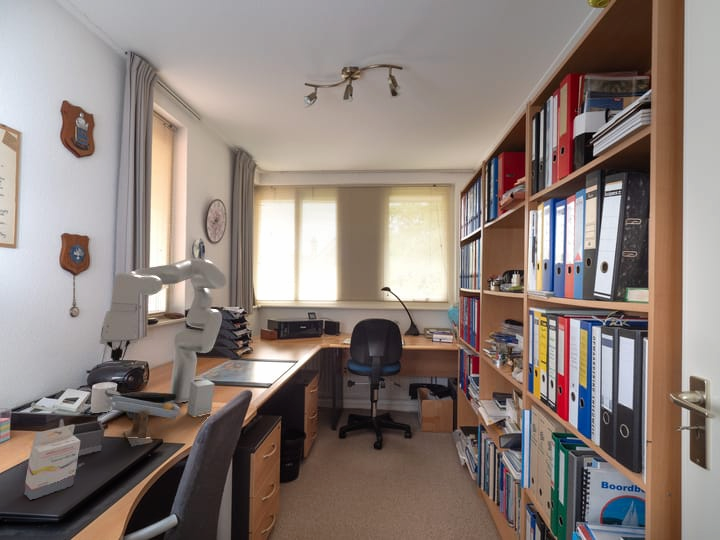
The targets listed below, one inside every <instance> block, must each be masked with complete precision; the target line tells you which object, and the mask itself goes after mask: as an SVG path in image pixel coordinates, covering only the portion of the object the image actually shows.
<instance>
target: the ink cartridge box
mask: <svg viewBox="0 0 720 540" xmlns="http://www.w3.org/2000/svg"><path fill="white" fill-rule="evenodd" d="M75 425H76V424H70V425H64V427H60V428H59V427H57V428H55V427H54V428H52V429H47V430H43V431H39V432H36V433H35V434H34V437H33V443H32V445H31V447H30V453H29V459H28V465H27V471H26V475H25V476H26V477H25V482H24V486H25V485H26V487H28V488H29V489H30V490H35V489H37V488H40V487H43V486H46V485H49V484H51V483H54V482H57V481H60V480H62V479H64V478H67V477H69V476H72V475H75V476H76V470H77V465H78V460H79V459H78V458H79V456H78V454H79V448H80V440H79V439H78V438H76V437H75V436H73V432H74V427H75ZM58 432H62V433H61V434H58ZM54 433H57V434H54ZM52 434H53V435H52ZM49 435H50V436H49Z"/></svg>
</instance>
